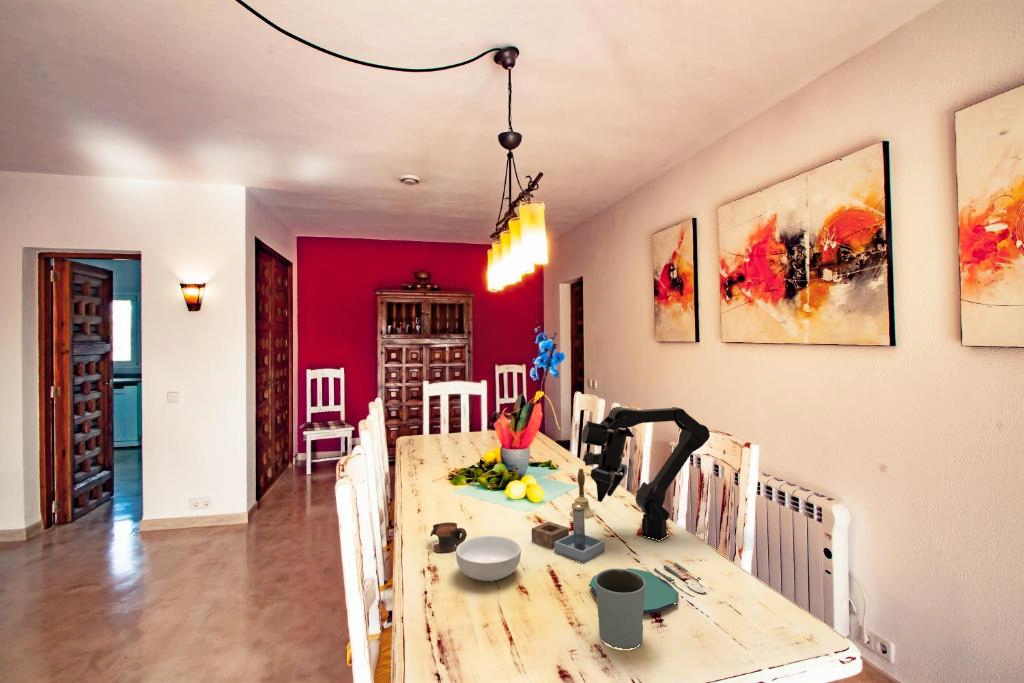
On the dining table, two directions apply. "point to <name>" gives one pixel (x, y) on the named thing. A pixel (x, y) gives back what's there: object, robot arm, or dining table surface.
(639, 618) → the grey cylindrical pot
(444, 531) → the brown clay jug
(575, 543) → the pin
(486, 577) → the cereal bowl
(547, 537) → the walnut block
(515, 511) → the dining table surface
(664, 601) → the cutlery set
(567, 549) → the slate tray
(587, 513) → the hand bell
